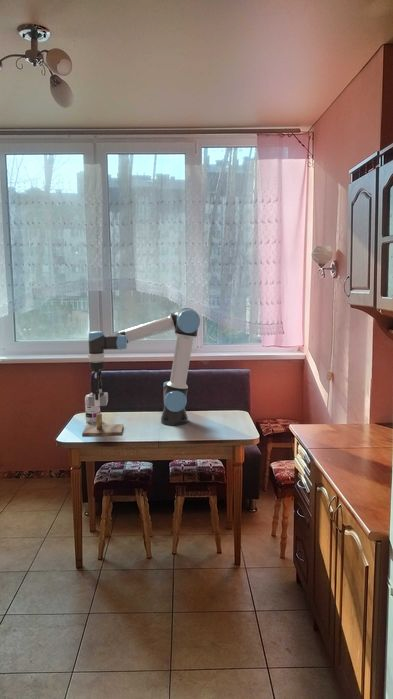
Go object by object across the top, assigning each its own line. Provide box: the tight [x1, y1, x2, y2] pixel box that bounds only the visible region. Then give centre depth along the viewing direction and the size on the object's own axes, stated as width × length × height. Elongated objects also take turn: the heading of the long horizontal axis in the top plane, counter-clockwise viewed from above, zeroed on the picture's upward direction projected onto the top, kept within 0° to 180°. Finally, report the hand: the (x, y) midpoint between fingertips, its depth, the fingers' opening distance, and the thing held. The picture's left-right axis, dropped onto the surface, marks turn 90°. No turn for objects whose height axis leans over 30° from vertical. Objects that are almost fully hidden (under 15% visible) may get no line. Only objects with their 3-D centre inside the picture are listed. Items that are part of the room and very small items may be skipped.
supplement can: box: [84, 393, 101, 424], centre depth 283 cm, size 8×8×15 cm
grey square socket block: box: [88, 391, 109, 407], centre depth 263 cm, size 9×9×5 cm
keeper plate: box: [81, 412, 124, 437], centre depth 265 cm, size 20×14×10 cm
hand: (98, 403), depth 263 cm, fingers closed on grey square socket block, 9 cm apart
